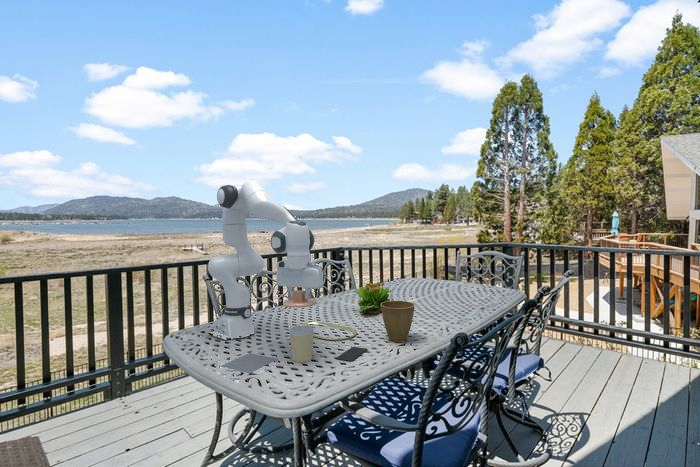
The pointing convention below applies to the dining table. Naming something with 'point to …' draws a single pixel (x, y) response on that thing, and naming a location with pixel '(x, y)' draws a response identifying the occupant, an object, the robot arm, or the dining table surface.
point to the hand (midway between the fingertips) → (300, 298)
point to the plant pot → (397, 319)
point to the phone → (351, 354)
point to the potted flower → (372, 297)
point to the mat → (249, 362)
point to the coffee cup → (301, 343)
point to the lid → (299, 300)
